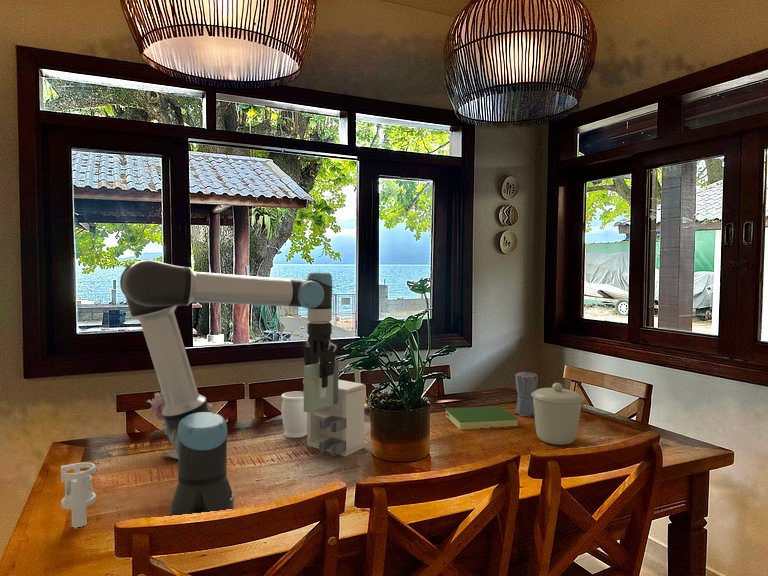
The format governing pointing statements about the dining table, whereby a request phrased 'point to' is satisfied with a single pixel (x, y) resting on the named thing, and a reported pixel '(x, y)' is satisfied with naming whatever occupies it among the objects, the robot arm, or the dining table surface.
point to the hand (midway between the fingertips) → (319, 396)
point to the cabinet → (339, 422)
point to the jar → (294, 414)
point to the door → (312, 388)
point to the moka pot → (525, 392)
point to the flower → (158, 408)
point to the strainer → (78, 491)
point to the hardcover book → (480, 417)
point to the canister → (557, 414)
